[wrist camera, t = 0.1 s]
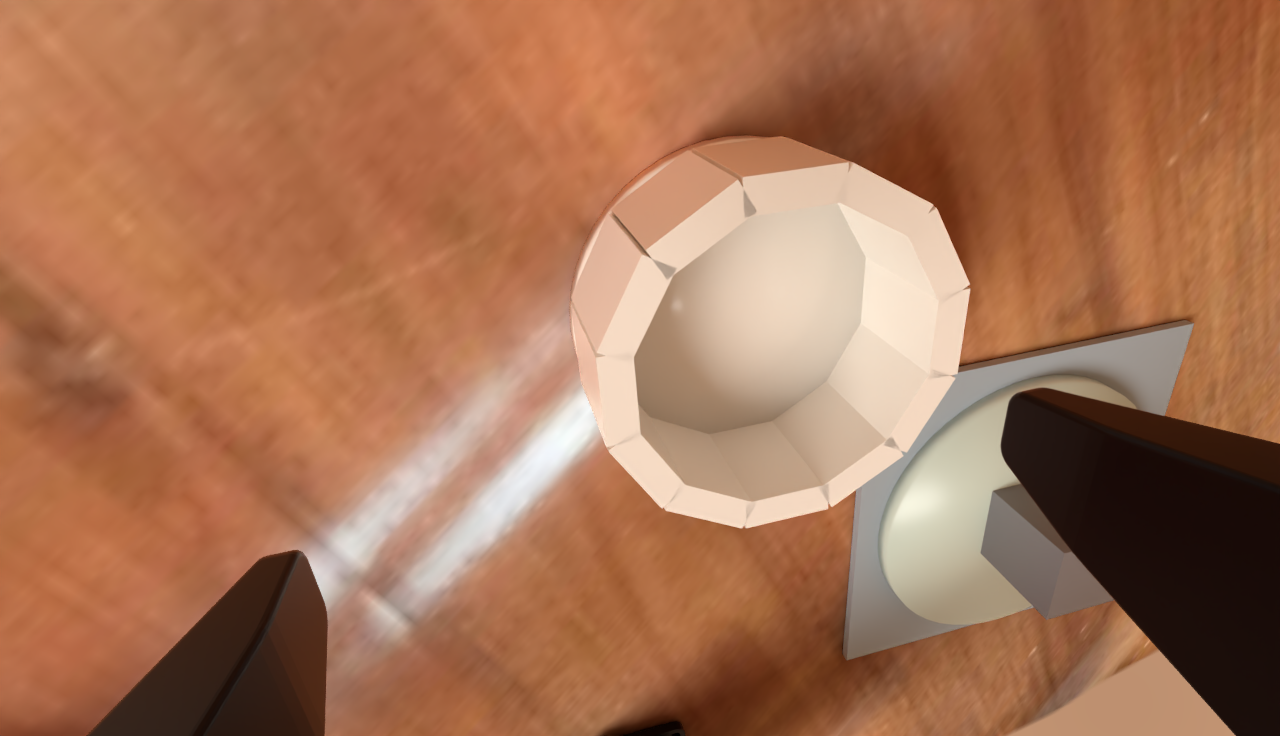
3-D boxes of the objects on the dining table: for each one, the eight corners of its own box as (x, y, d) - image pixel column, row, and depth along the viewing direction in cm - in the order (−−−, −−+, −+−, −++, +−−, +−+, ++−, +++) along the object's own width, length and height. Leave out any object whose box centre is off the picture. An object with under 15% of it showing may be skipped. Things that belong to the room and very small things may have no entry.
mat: (1104, 580, 37) (1110, 585, 37) (842, 653, 35) (846, 660, 34) (1185, 319, 30) (1194, 323, 30) (865, 386, 28) (870, 391, 27)
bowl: (863, 408, 28) (941, 482, 24) (588, 466, 26) (619, 558, 22) (887, 115, 23) (992, 141, 19) (547, 159, 21) (576, 200, 17)
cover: (1097, 575, 36) (1183, 649, 32) (867, 640, 34) (926, 728, 30) (1166, 348, 30) (1283, 403, 26) (891, 407, 28) (971, 478, 24)
